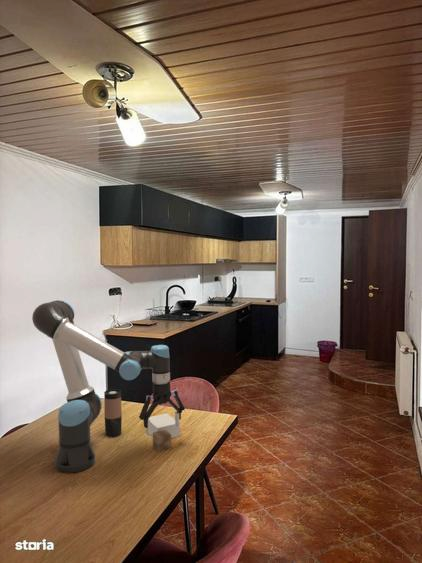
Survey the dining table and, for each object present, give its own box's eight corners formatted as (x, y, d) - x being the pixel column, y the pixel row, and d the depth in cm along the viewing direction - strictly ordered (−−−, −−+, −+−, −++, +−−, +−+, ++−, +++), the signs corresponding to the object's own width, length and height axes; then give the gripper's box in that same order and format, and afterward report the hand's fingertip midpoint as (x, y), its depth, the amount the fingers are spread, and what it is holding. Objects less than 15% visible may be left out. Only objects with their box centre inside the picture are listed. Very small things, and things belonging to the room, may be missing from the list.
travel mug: (124, 431, 189) (123, 389, 188) (118, 438, 181) (118, 394, 180) (108, 430, 189) (107, 388, 189) (102, 437, 182) (101, 393, 181)
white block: (157, 441, 177) (157, 428, 177) (145, 430, 189) (145, 417, 189) (180, 435, 183) (179, 422, 183) (167, 425, 195) (167, 413, 195)
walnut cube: (158, 451, 168) (158, 437, 167) (153, 446, 173) (152, 432, 173) (171, 448, 171) (171, 434, 170) (165, 443, 176) (165, 429, 176)
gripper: (136, 389, 161) (138, 441, 162) (191, 378, 174) (192, 426, 175) (130, 385, 167) (132, 434, 168) (183, 375, 180) (185, 421, 181)
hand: (163, 430), depth 171 cm, fingers open, 13 cm apart
